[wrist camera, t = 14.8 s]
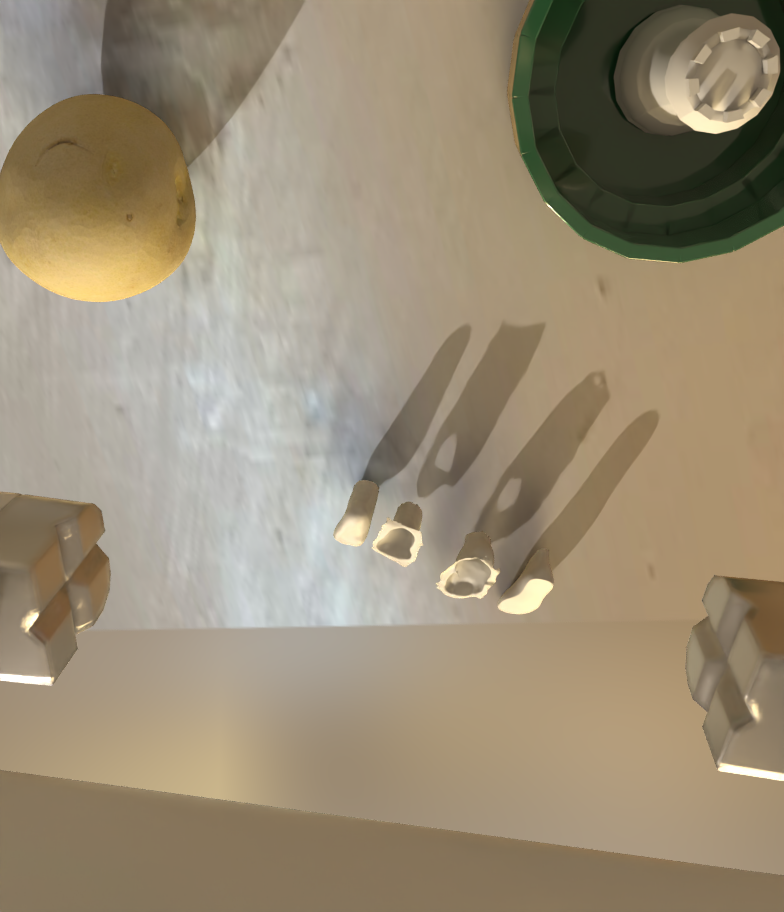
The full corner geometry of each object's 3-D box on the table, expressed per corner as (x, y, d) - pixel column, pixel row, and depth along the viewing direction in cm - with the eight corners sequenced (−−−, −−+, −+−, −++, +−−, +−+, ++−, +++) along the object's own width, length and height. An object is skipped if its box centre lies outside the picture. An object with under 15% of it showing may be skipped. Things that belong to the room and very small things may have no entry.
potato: (249, 243, 34) (191, 290, 27) (104, 292, 36) (14, 348, 29) (177, 67, 31) (90, 68, 24) (21, 130, 33) (-102, 149, 26)
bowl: (533, -125, 27) (545, -161, 22) (880, -103, 26) (961, -136, 22) (489, 221, 33) (491, 246, 28) (772, 247, 32) (819, 276, 28)
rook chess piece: (661, 159, 30) (717, 189, 23) (587, 77, 29) (623, 83, 22) (755, 67, 28) (847, 69, 21) (680, -24, 27) (750, -53, 20)
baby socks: (346, 509, 36) (360, 467, 38) (323, 553, 41) (336, 513, 42) (567, 591, 38) (572, 546, 39) (521, 624, 42) (527, 583, 44)
